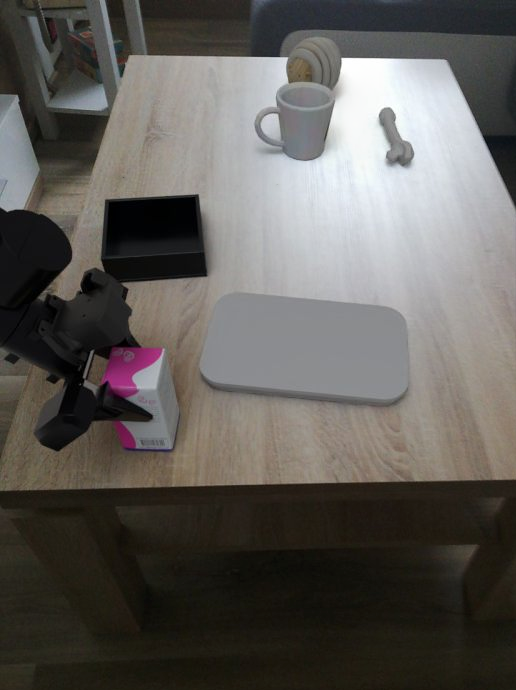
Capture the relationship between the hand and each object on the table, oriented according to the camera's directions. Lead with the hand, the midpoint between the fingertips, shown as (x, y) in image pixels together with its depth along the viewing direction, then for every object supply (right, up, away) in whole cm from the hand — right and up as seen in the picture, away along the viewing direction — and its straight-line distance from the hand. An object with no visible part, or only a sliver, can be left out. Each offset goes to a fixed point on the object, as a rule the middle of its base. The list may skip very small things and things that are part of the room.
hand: (155, 396), depth 61 cm
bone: (+34, +49, +47) cm, 76 cm away
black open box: (-6, +23, +25) cm, 34 cm away
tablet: (+16, +6, +14) cm, 22 cm away
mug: (+14, +46, +44) cm, 65 cm away
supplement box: (-2, -4, +5) cm, 7 cm away
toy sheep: (+19, +63, +57) cm, 87 cm away
